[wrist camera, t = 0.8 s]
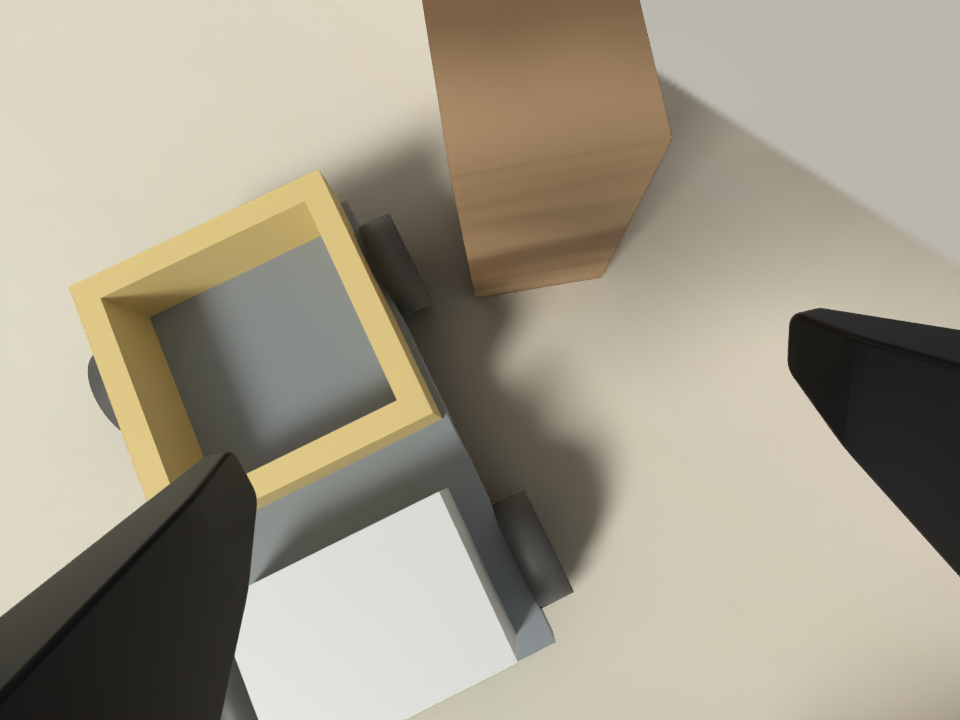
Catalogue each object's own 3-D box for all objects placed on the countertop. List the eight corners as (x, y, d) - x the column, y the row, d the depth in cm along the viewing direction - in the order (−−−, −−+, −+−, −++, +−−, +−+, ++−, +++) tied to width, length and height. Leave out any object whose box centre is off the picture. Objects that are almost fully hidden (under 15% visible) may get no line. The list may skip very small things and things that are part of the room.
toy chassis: (579, 603, 21) (602, 650, 16) (289, 750, 20) (215, 847, 15) (390, 217, 23) (358, 150, 18) (133, 340, 23) (27, 306, 18)
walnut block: (601, 277, 23) (671, 138, 13) (475, 298, 23) (450, 175, 13) (577, 161, 24) (626, -53, 14) (456, 181, 24) (419, -16, 14)
